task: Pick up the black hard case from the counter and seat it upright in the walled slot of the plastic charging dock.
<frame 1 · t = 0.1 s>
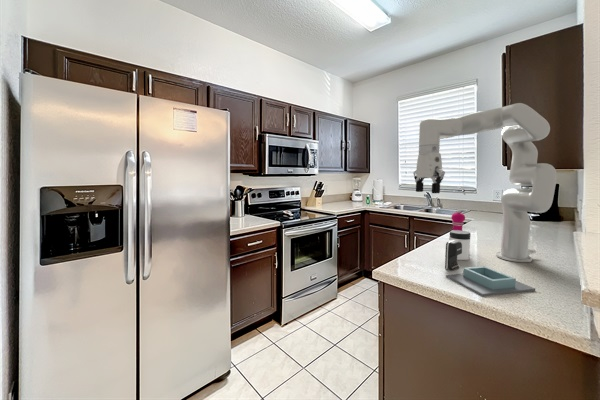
hand: (427, 192, 108), 31 cm above the countertop, tool pointing down, fingers open, 9 cm apart
black hard case: (453, 269, 107), on the countertop
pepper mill: (456, 248, 136), on the countertop
charging dock: (487, 283, 92), on the countertop
jar: (458, 257, 120), on the countertop
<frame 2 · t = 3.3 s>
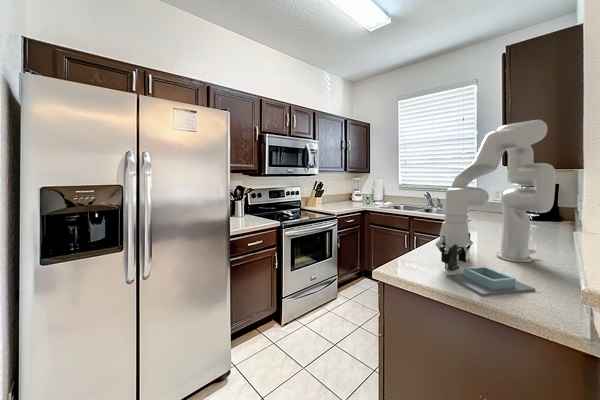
hand: (453, 261, 106), 3 cm above the countertop, tool pointing down, fingers closed on black hard case, 7 cm apart
black hard case: (453, 269, 106), on the countertop, touching gripper
everything else where it was.
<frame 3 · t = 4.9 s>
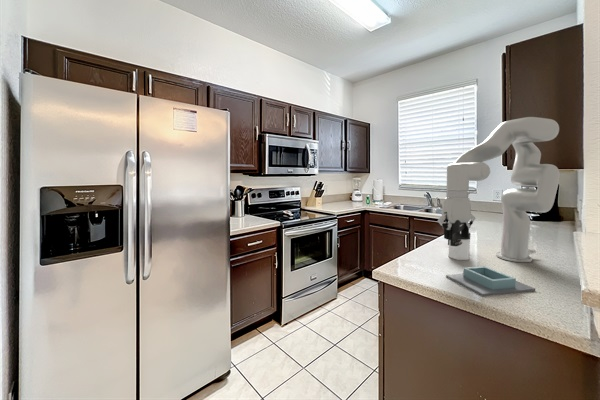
hand: (456, 237, 105), 13 cm above the countertop, tool pointing down, fingers closed on black hard case, 7 cm apart
black hard case: (456, 245, 106), point 10 cm above the countertop, touching gripper
everything else where it was.
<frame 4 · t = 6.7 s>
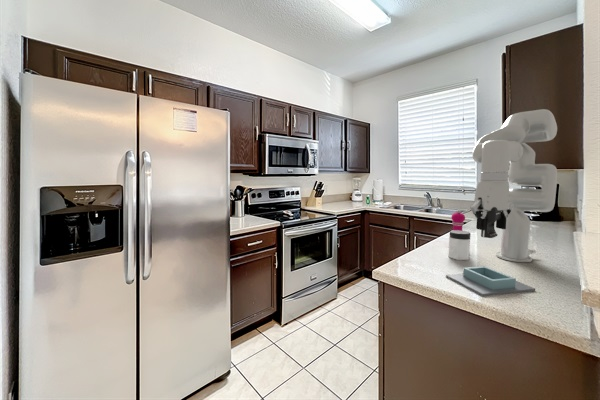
hand: (490, 228, 90), 20 cm above the countertop, tool pointing down, fingers closed on black hard case, 7 cm apart
black hard case: (490, 237, 91), point 16 cm above the countertop, touching gripper
everything else where it was.
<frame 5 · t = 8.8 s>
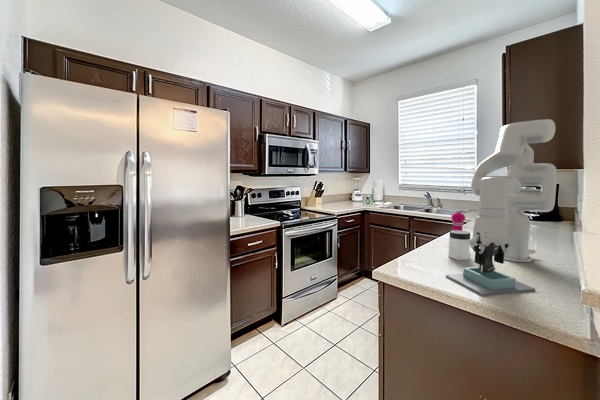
hand: (488, 262, 91), 8 cm above the countertop, tool pointing down, fingers closed on black hard case, 7 cm apart
black hard case: (488, 271, 92), point 4 cm above the countertop, touching gripper
everything else where it was.
when the fingers open (5 cm above the countertop, at t = 10.4 s): black hard case drops 1 cm, resting on charging dock.
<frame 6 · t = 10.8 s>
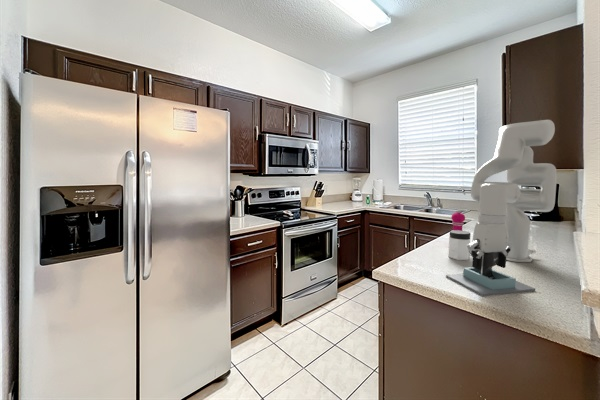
hand: (488, 267, 91), 6 cm above the countertop, tool pointing down, fingers open, 9 cm apart
black hard case: (488, 281, 92), point 1 cm above the countertop, touching charging dock
everything else where it was.
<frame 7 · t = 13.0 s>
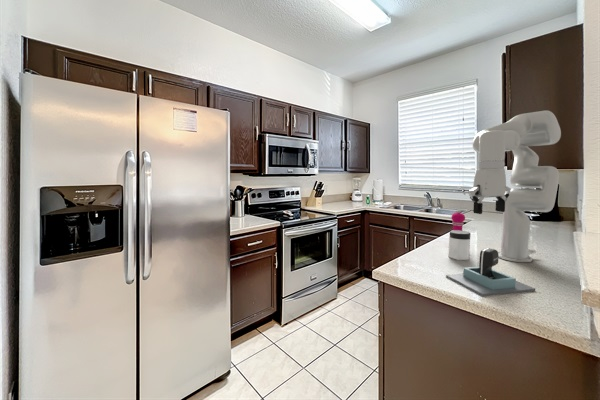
hand: (488, 212, 96), 24 cm above the countertop, tool pointing down, fingers open, 9 cm apart
nothing on the countertop moved.
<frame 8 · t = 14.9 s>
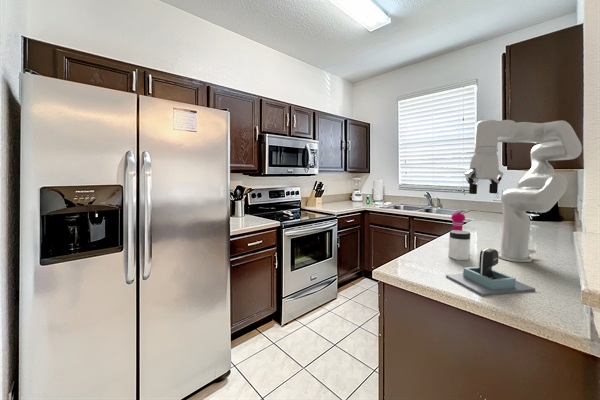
hand: (483, 193, 108), 30 cm above the countertop, tool pointing down, fingers open, 9 cm apart
nothing on the countertop moved.
at the end: black hard case 0.2 cm off-centre on the charging dock, point 0.6 cm above the charging dock's base; black hard case tilted 0°; the gripper is holding nothing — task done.
